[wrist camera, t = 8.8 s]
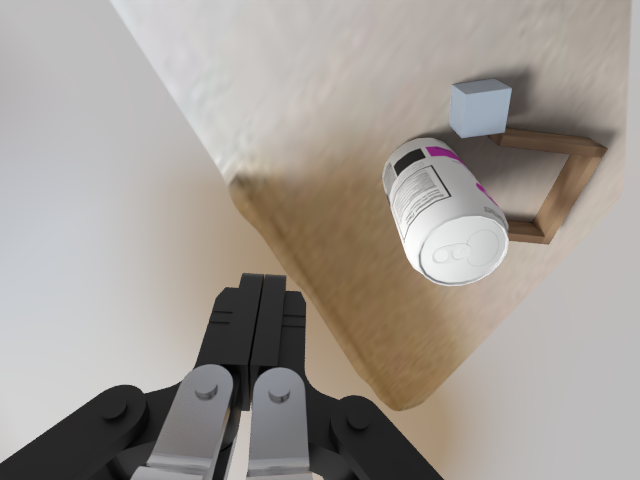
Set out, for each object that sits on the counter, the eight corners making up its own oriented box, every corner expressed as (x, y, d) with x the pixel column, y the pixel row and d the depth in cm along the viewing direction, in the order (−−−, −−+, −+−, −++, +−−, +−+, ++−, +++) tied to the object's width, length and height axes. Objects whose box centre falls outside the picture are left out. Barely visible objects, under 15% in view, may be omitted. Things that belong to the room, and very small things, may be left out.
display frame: (491, 125, 37) (503, 135, 35) (589, 138, 38) (607, 148, 36) (452, 222, 44) (460, 235, 42) (536, 230, 45) (548, 244, 43)
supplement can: (454, 127, 37) (522, 198, 25) (454, 195, 42) (511, 282, 30) (377, 143, 38) (406, 220, 26) (385, 208, 43) (413, 298, 31)
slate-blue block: (451, 84, 35) (465, 94, 32) (493, 78, 35) (512, 88, 32) (448, 124, 37) (461, 138, 34) (487, 119, 37) (504, 132, 34)
